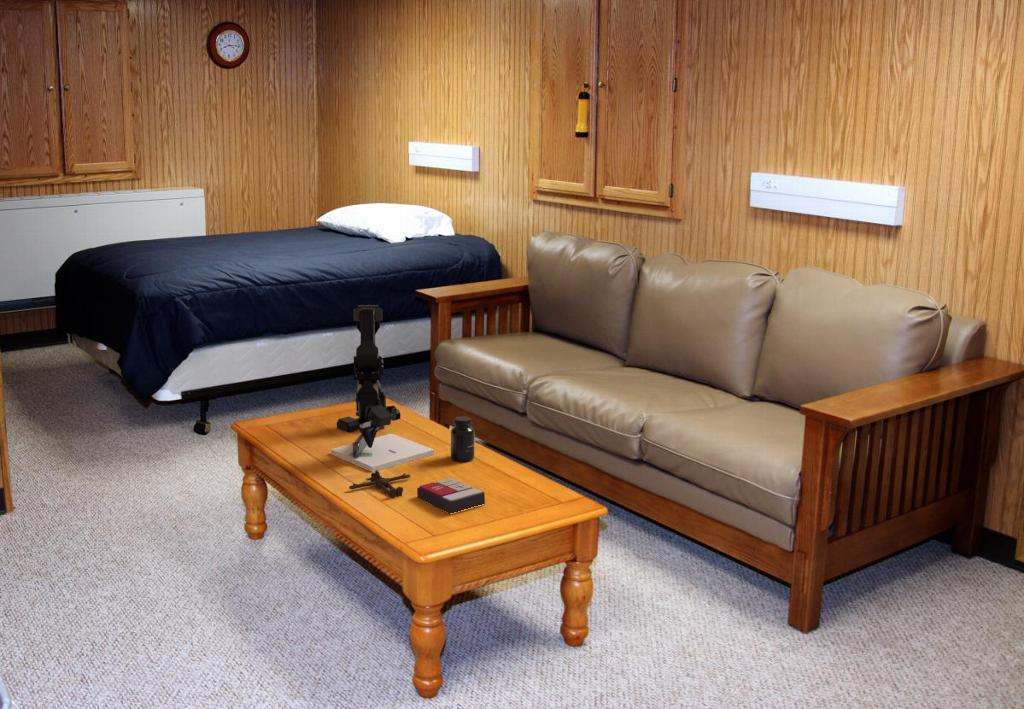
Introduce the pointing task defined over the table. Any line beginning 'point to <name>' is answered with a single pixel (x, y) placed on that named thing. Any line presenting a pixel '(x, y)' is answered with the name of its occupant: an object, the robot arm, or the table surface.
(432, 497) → the red grey black box
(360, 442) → the pointer
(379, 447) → the dial board
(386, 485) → the black cross stand base
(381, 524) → the table surface
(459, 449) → the supplement bottle
